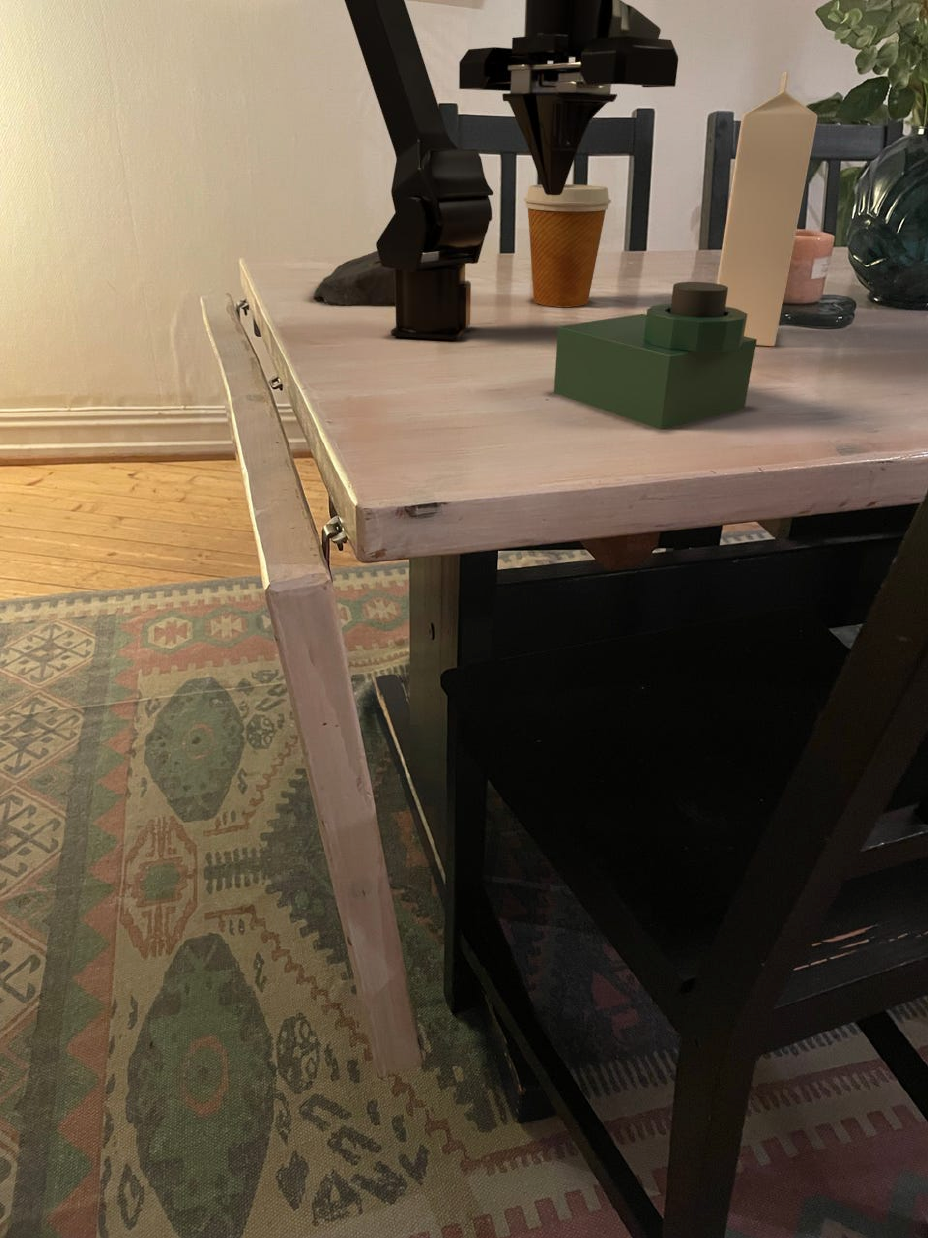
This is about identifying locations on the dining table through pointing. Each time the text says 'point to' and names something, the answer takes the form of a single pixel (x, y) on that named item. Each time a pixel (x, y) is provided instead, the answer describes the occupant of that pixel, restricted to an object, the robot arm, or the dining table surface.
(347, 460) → the dining table surface
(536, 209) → the disposable coffee cup
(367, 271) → the dark slate chunk
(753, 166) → the milk
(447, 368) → the dining table surface
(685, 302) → the button
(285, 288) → the dining table surface
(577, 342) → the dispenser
